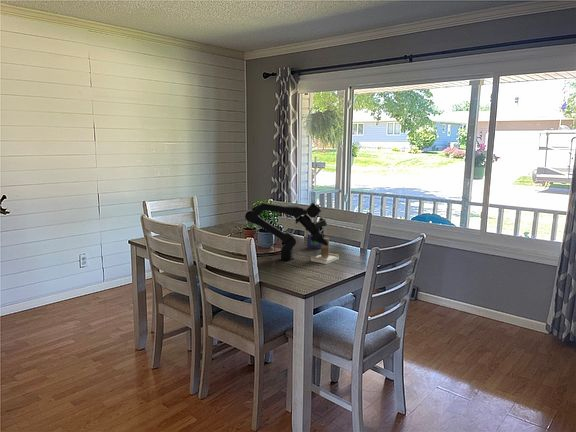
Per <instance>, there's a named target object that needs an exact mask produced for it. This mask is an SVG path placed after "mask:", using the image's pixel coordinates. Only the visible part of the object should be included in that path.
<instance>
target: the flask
mask: <svg viewBox="0 0 576 432" xmlns="http://www.w3.org/2000/svg"><path fill="white" fill-rule="evenodd" d="M306 238H307V239H306V240H307V245H306V246H307V249H308V250H310V249H311V250H321V243H319V242H316V241H314V242H312V240H311V234H310V233H308V234H307V237H306Z"/></svg>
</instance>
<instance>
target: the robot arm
mask: <svg viewBox="0 0 576 432" xmlns="http://www.w3.org/2000/svg"><path fill="white" fill-rule="evenodd" d="M264 211H267V212H275V213H279V214H285V215H287V216H288V215H289V216H290V217H293V218H295V224H298V223H300V224H301V226H303V228H304V229H305V231H307V232H308V234H311V240H312V242H314V241H316V242H319V243H321V244H324V245H326V246H327V245H328V243H327V242H326V241H325V239H324V238H323V237H326V235H325V230H324V227H326V226H327V225H328V222H327V220H326V218H323V217H320V218H319V219H318V220H319V221H315V220H312V218H314V219H315V218H317V216H318V215H319V214H320V213H321V212H322V210H321V208H319V207H318V205H316V204H315V202H311V203H310V205H309V206H308V207H306V208H303V207H300V206H298V205H282V204H281V205H279V204H274V203H267V202H263V201H262V202H260V203H259V204H257V205H256V206H254V207H253V208H250V209H246V211H245V212H244V217H245V220H246V221H247V222H249V223H252V224H254V225H258V226H259V227H261V228H263V229H264V230H266V231H267V232H269V233H270V234H271V235H273V236H275V237H276V238H278V239H280V240H281V242H280V246H281V249H280V257H279V258H278V260H280V261H284V262H289V261H292V260H295V258H294V257H293V248H294V247H295V245H296V244H297V240H296V238H295V236H294V234H293V233H291V232H289V231H288V230H286V231H282V230H280V229H279V228H277V227H275V226H274V225H273V224H271V223H270V222H268V221H266V220H265V219H263V218H262V217H261V216H260V214H262V213H263V212H264Z"/></svg>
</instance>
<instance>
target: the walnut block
mask: <svg viewBox="0 0 576 432" xmlns="http://www.w3.org/2000/svg"><path fill="white" fill-rule="evenodd" d="M323 238H324V239H325V241H326V242H327V243H328V245H327V246H326V245H324V244H321V249H320V254H321V256H322V257H328V256H329V253H330V237H327V236H325V237H323Z"/></svg>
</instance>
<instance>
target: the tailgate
mask: <svg viewBox="0 0 576 432" xmlns="http://www.w3.org/2000/svg"><path fill="white" fill-rule="evenodd" d="M339 258H340V255H339V254H336V253H331V252H329V256H328V257H322V256H321V253H320V254H318V255H314V256H310V258H309V259H310V262H313V263H314V262H315V263H320V264H324V265H327V264H330V263H333V262H335V261H338V260H340V259H339Z"/></svg>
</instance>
